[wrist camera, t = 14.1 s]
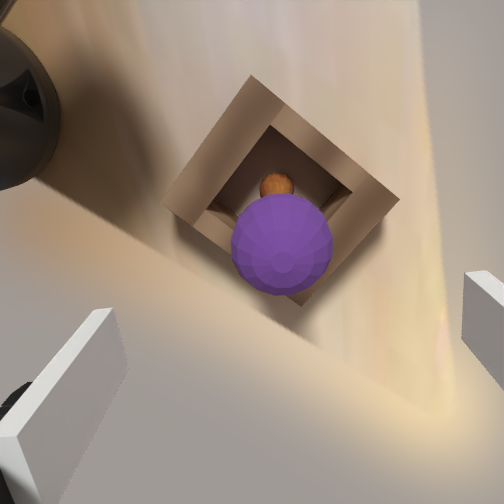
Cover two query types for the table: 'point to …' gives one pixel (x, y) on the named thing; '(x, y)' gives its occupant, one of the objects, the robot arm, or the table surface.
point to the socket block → (235, 150)
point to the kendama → (281, 240)
